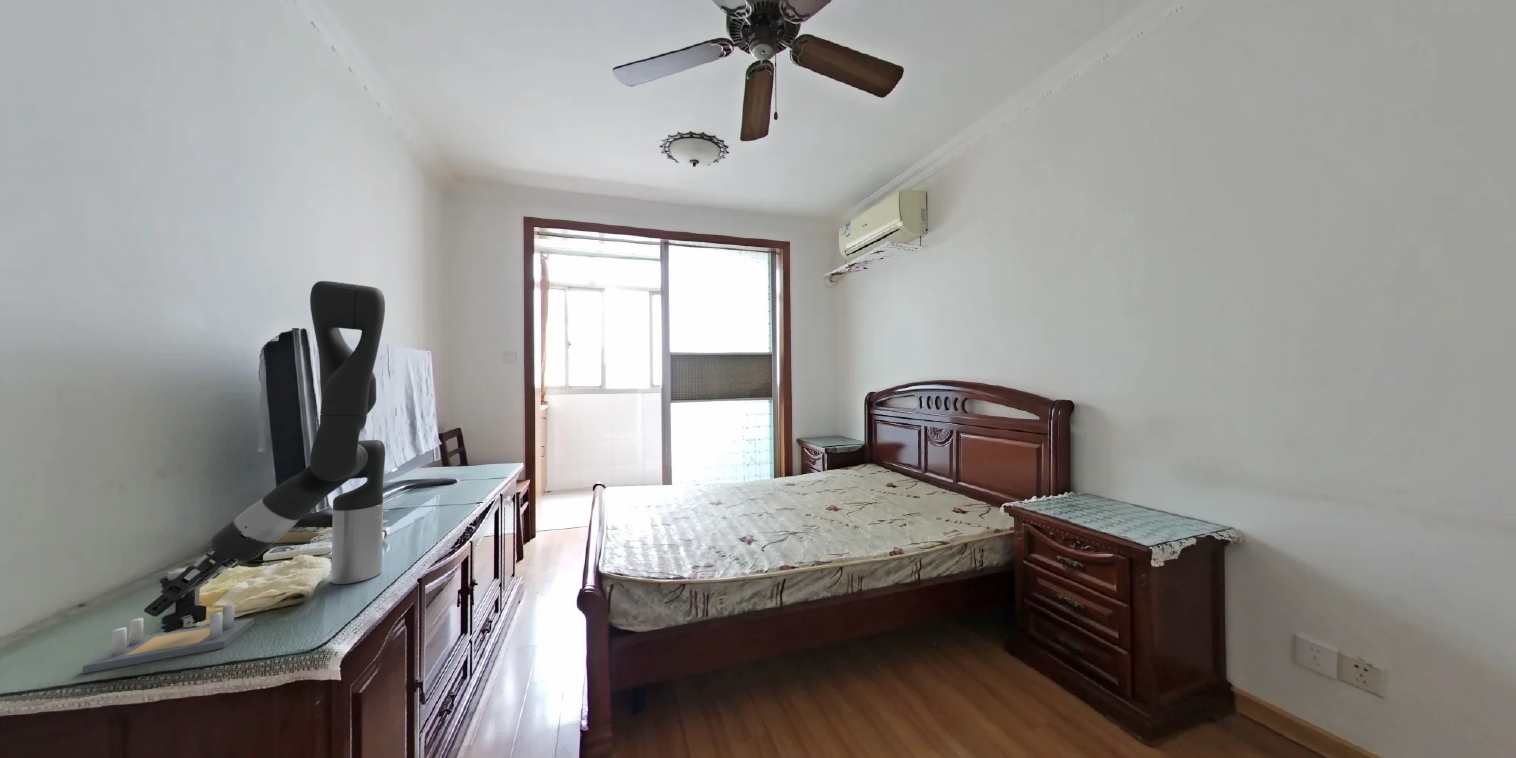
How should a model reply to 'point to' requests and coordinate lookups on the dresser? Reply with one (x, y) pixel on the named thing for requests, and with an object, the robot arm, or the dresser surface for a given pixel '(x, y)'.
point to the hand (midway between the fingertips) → (162, 606)
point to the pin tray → (168, 641)
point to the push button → (181, 607)
